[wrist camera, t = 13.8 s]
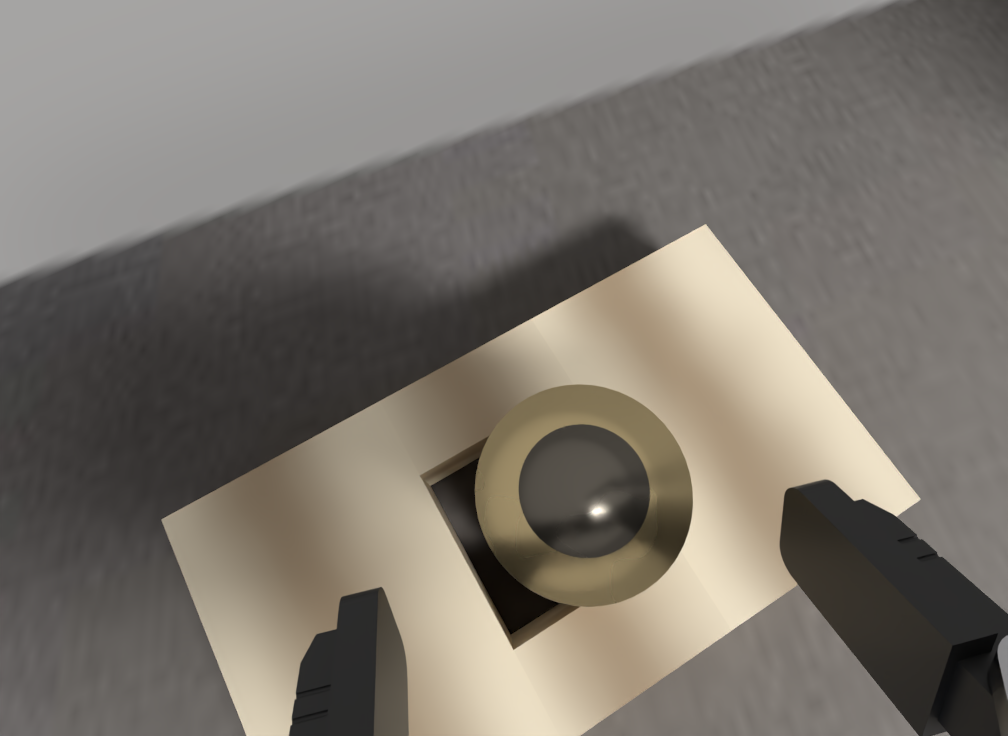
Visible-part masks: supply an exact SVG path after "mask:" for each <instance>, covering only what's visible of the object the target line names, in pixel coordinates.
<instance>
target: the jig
mask: <svg viewBox="0 0 1008 736" xmlns="http://www.w3.org/2000/svg"><path fill="white" fill-rule="evenodd" d="M575 384H583V385H595V386H600V387H605V388H609V389H612V390H615V391H618V392H620V393H623V394H625V395H627V396H629V397H631V398H633V399H635V400H636V401H638V402H639V403H641V404H643V405H644V406H645V407H647V408H648V409H649V410H650V411H652V412H653V413H654V414H655V415H656V416H657V417H658V418H659V419H660V420H661V421H662V422H663V423H664V424H665V425H666V427H667V428H668V429H669V431H670V432H671V433H672V435H673V436H674V438H675V439H676V441H677V443H678V444H679V446H680V448H681V450H682V453H683V455H684V457H685V459H686V462H687V466H688V469H689V472H690V477H691V482H692V488H693V510H692V519H691V524H690V528H689V532H688V535H687V538H686V540H685V543H684V546H683V548H682V550H681V551H680V553H679V555H678V557H677V559H676V560H675V562H674V563H673V564H672V566H671V567H670V568H669V570H668V571H667V572H666V573H665V574H664V575H663V576H662V577H661V578H660V579H659V580H658V581H657V582H656V583H654V584H653V585H652V586H650V587H649V588H648V589H647V590H645V591H643V592H641V593H640V594H638V595H636V596H634V597H632V598H630V599H627V600H624V601H622V602H619V603H615V604H610V605H606V606H595V607H582V606H572V605H567V604H562V603H560V604H558V605H556V606H555V607H553V608H552V609H550V610H549V611H547V612H546V613H544V614H543V615H541V616H539V617H538V618H536V619H535V620H533V621H532V622H530V623H529V624H527V625H525V626H524V627H522V628H521V629H519V630H518V631H516V632H515V633H513V634H510V633H509V631H508V629H507V627H506V625H505V623H504V621H503V620H502V618H501V616H500V614H499V612H498V610H497V608H496V607H495V605H494V603H493V601H492V599H491V597H490V595H489V594H488V592H487V590H486V588H485V586H484V584H483V582H482V581H481V579H480V577H479V575H478V573H477V571H476V569H475V568H474V566H473V564H472V562H471V560H470V558H469V556H468V555H467V553H466V551H465V549H464V547H463V545H462V543H461V542H460V540H459V538H458V536H457V534H456V532H455V530H454V529H453V527H452V525H451V523H450V521H449V519H448V517H447V516H446V514H445V512H444V510H443V508H442V506H441V504H440V503H439V501H438V499H437V497H436V495H435V493H434V491H433V490H432V488H431V485H433V484H435V483H436V482H438V481H440V480H441V479H443V478H445V477H447V476H448V475H450V474H452V473H454V472H455V471H457V470H459V469H460V468H462V467H464V466H466V465H467V464H469V463H471V462H473V461H474V460H476V459H478V458H479V457H480V456H481V453H482V450H483V448H484V446H485V444H486V442H487V440H488V438H489V436H490V434H491V433H492V431H493V430H494V428H495V427H496V425H497V424H498V423H499V422H500V420H501V419H502V418H503V417H504V416H505V415H506V414H507V413H508V412H509V411H510V410H511V409H513V408H514V407H515V406H516V405H517V404H519V403H520V402H522V401H524V400H525V399H527V398H528V397H530V396H532V395H534V394H536V393H539V392H541V391H544V390H547V389H550V388H553V387H559V386H564V385H575ZM824 479H827V480H830V481H832V482H834V483H835V484H836V485H837V486H839V487H840V488H841V489H842V490H843V491H844V492H845V493H846V494H847V495H848V496H849V497H851V498H852V499H853V500H854V501H856V500H860V499H864V500H866V501H868V502H870V503H872V504H874V505H876V506H878V507H880V508H882V509H884V510H886V511H888V512H890V513H892V514H894V515H895V516H897V515H899V514H900V513H902V512H903V511H905V510H906V509H908V508H909V507H910V506H912V505H913V504H915V503H916V502H918V501H919V500H921V499H920V498H919V497H918V495H917V494H916V493H915V492H914V490H913V489H912V488H911V486H910V485H909V484H908V483H907V481H906V480H905V479H904V478H903V476H902V475H901V474H900V472H899V471H898V470H897V469H896V467H895V466H894V465H893V463H892V462H891V461H890V460H889V458H888V457H887V456H886V454H885V453H884V452H883V451H882V449H881V448H880V447H879V446H878V444H877V443H876V442H875V440H874V439H873V438H872V437H871V435H870V434H869V433H868V431H867V430H866V429H865V428H864V426H863V425H862V424H861V422H860V421H859V420H858V419H857V417H856V416H855V415H854V414H853V412H852V411H851V410H850V408H849V407H848V406H847V405H846V403H845V402H844V401H843V399H842V398H841V397H840V396H839V394H838V393H837V392H836V390H835V389H834V388H833V387H832V385H831V384H830V383H829V382H828V380H827V379H826V378H825V376H824V375H823V374H822V373H821V371H820V370H819V369H818V367H817V366H816V365H815V364H814V362H813V361H812V360H811V359H810V357H809V356H808V355H807V353H806V352H805V351H804V350H803V348H802V347H801V346H800V344H799V343H798V342H797V341H796V339H795V338H794V337H793V335H792V334H791V333H790V332H789V330H788V329H787V328H786V327H785V325H784V324H783V323H782V321H781V320H780V319H779V318H778V316H777V315H776V314H775V312H774V311H773V310H772V309H771V307H770V306H769V305H768V303H767V302H766V301H765V300H764V298H763V297H762V296H761V295H760V293H759V292H758V291H757V289H756V288H755V287H754V286H753V284H752V283H751V282H750V280H749V279H748V278H747V277H746V275H745V274H744V273H743V271H742V270H741V269H740V268H739V266H738V265H737V264H736V263H735V261H734V260H733V259H732V257H731V256H730V255H729V254H728V252H727V251H726V250H725V248H724V247H723V246H722V245H721V243H720V242H719V241H718V239H717V238H716V237H715V236H714V234H713V233H712V232H711V231H710V229H709V228H708V227H707V225H706V224H705V225H703V226H702V227H700V228H698V229H696V230H694V231H692V232H691V233H689V234H687V235H685V236H683V237H681V238H679V239H678V240H676V241H674V242H672V243H670V244H668V245H667V246H665V247H663V248H661V249H659V250H657V251H656V252H654V253H652V254H650V255H648V256H646V257H644V258H643V259H641V260H639V261H637V262H635V263H633V264H632V265H630V266H628V267H626V268H624V269H622V270H620V271H619V272H617V273H615V274H613V275H611V276H609V277H608V278H606V279H604V280H602V281H600V282H598V283H597V284H595V285H593V286H591V287H589V288H587V289H585V290H584V291H582V292H580V293H578V294H576V295H574V296H573V297H571V298H569V299H567V300H565V301H563V302H561V303H560V304H558V305H556V306H554V307H552V308H550V309H549V310H547V311H545V312H543V313H541V314H539V315H537V316H536V317H534V318H532V319H530V320H528V321H526V322H525V323H523V324H521V325H519V326H517V327H515V328H514V329H512V330H510V331H508V332H506V333H504V334H502V335H501V336H499V337H497V338H495V339H493V340H491V341H490V342H488V343H486V344H484V345H482V346H480V347H478V348H477V349H475V350H473V351H471V352H469V353H467V354H466V355H464V356H462V357H460V358H458V359H456V360H454V361H453V362H451V363H449V364H447V365H445V366H443V367H442V368H440V369H438V370H436V371H434V372H432V373H431V374H429V375H427V376H425V377H423V378H421V379H419V380H418V381H416V382H414V383H412V384H410V385H408V386H407V387H405V388H403V389H401V390H399V391H397V392H395V393H394V394H392V395H390V396H388V397H386V398H384V399H383V400H381V401H379V402H377V403H375V404H373V405H371V406H370V407H368V408H366V409H364V410H362V411H360V412H359V413H357V414H355V415H353V416H351V417H349V418H348V419H346V420H344V421H342V422H340V423H338V424H336V425H335V426H333V427H331V428H329V429H327V430H325V431H324V432H322V433H320V434H318V435H316V436H314V437H312V438H311V439H309V440H307V441H305V442H303V443H301V444H300V445H298V446H296V447H294V448H292V449H290V450H288V451H287V452H285V453H283V454H281V455H279V456H277V457H276V458H274V459H272V460H270V461H268V462H266V463H265V464H263V465H261V466H259V467H257V468H255V469H253V470H252V471H250V472H248V473H246V474H244V475H242V476H241V477H239V478H237V479H235V480H233V481H231V482H229V483H228V484H226V485H224V486H222V487H220V488H218V489H217V490H215V491H213V492H211V493H209V494H207V495H205V496H204V497H202V498H200V499H198V500H196V501H194V502H193V503H191V504H189V505H187V506H185V507H183V508H182V509H180V510H178V511H176V512H174V513H172V514H170V515H169V516H167V517H165V518H163V519H161V520H162V523H163V525H164V528H165V530H166V533H167V535H168V538H169V541H170V543H171V546H172V548H173V551H174V553H175V556H176V558H177V561H178V563H179V566H180V568H181V571H182V573H183V576H184V578H185V581H186V584H187V586H188V589H189V591H190V594H191V596H192V599H193V601H194V604H195V606H196V609H197V611H198V614H199V616H200V619H201V621H202V624H203V627H204V629H205V632H206V634H207V637H208V639H209V642H210V644H211V647H212V649H213V652H214V654H215V657H216V659H217V662H218V665H219V667H220V670H221V672H222V675H223V677H224V680H225V682H226V685H227V687H228V690H229V692H230V695H231V697H232V700H233V702H234V705H235V708H236V710H237V713H238V715H239V718H240V720H241V723H242V725H243V728H244V730H245V733H246V735H247V736H289V731H290V726H291V725H292V713H293V706H294V700H295V699H296V688H297V681H298V675H299V669H300V663H301V661H302V659H303V657H304V656H305V654H306V652H307V650H308V648H309V646H310V645H311V643H312V641H313V639H314V637H315V635H316V634H319V633H323V632H327V631H331V630H335V629H337V619H338V610H339V602H340V599H341V597H342V596H346V595H350V594H354V593H358V592H362V591H366V590H370V589H374V588H378V587H382V588H383V589H384V591H385V594H386V596H387V599H388V602H389V605H390V607H391V610H392V613H393V616H394V618H395V621H396V624H397V627H398V629H399V632H400V635H401V638H402V641H403V645H404V650H405V655H406V663H407V677H408V721H409V736H580V735H582V734H583V733H584V732H586V731H587V730H589V729H590V728H592V727H593V726H595V725H596V724H597V723H599V722H600V721H602V720H603V719H605V718H606V717H608V716H609V715H610V714H612V713H613V712H615V711H616V710H618V709H619V708H621V707H622V706H623V705H625V704H626V703H628V702H629V701H631V700H632V699H633V698H635V697H636V696H638V695H639V694H641V693H642V692H644V691H645V690H646V689H648V688H649V687H651V686H652V685H654V684H655V683H657V682H658V681H659V680H661V679H662V678H664V677H665V676H667V675H668V674H670V673H671V672H672V671H674V670H675V669H677V668H678V667H680V666H681V665H683V664H684V663H685V662H687V661H688V660H690V659H691V658H693V657H694V656H696V655H697V654H698V653H700V652H701V651H703V650H704V649H706V648H707V647H709V646H710V645H711V644H713V643H714V642H716V641H717V640H719V639H720V638H721V637H723V636H724V635H726V634H727V633H729V632H730V631H732V630H733V629H734V628H736V627H737V626H739V625H740V624H742V623H743V622H745V621H746V620H747V619H749V618H750V617H752V616H753V615H755V614H756V613H758V612H759V611H760V610H762V609H763V608H765V607H766V606H768V605H769V604H771V603H772V602H773V601H775V600H776V599H778V598H779V597H781V596H782V595H784V594H785V593H786V592H788V591H789V590H791V589H792V588H794V587H795V586H797V585H798V584H797V582H796V581H795V580H794V579H793V577H792V576H791V575H790V573H789V572H788V570H787V568H786V566H785V564H784V562H783V559H782V556H781V552H780V545H779V544H780V532H781V522H782V512H783V502H784V494H785V492H786V490H787V489H788V488H791V487H795V486H799V485H803V484H807V483H811V482H815V481H819V480H824Z"/></svg>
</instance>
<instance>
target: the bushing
mask: <svg viewBox="0 0 1008 736" xmlns="http://www.w3.org/2000/svg"><path fill="white" fill-rule="evenodd" d="M475 503H476V509H477V515H478V520H479V523H480V526H481V529H482V532H483V535H484V537H485V539H486V541H487V543H488V545H489V547H490V549H491V550H492V552H493V553H494V555H495V557H496V558H497V560H498V561H499V562H500V563H501V564H502V566H503V567H504V568H505V569H506V570H507V572H508V573H510V574H511V575H512V576H513V577H514V578H515V579H516V580H517V581H518V582H520V583H521V584H522V585H524V586H525V587H527V588H528V589H530V590H531V591H533V592H535V593H537V594H539V595H541V596H542V597H544V598H547V599H550V600H553V601H555V602H558V603H562V604H567V605H572V606H582V607H595V606H606V605H610V604H615V603H619V602H622V601H624V600H627V599H630V598H632V597H634V596H636V595H638V594H640V593H641V592H643V591H645V590H647V589H648V588H649V587H650V586H652V585H653V584H654V583H656V582H657V581H658V580H659V579H660V578H661V577H662V576H663V575H664V574H665V573H666V572H667V571H668V570H669V568H670V567H671V566H672V564H673V563H674V562H675V560H676V559H677V557H678V555H679V553H680V551H681V550H682V548H683V546H684V543H685V540H686V538H687V535H688V532H689V528H690V524H691V519H692V510H693V488H692V482H691V477H690V472H689V469H688V466H687V462H686V459H685V457H684V455H683V453H682V450H681V448H680V446H679V444H678V443H677V441H676V439H675V438H674V436H673V435H672V433H671V432H670V431H669V429H668V428H667V427H666V425H665V424H664V423H663V422H662V421H661V420H660V419H659V418H658V417H657V416H656V415H655V414H654V413H653V412H652V411H650V410H649V409H648V408H647V407H645V406H644V405H643V404H641V403H639V402H638V401H636V400H635V399H633V398H631V397H629V396H627V395H625V394H623V393H620V392H618V391H615V390H612V389H609V388H605V387H600V386H595V385H583V384H575V385H564V386H559V387H553V388H550V389H547V390H544V391H541V392H539V393H536V394H534V395H532V396H530V397H528V398H527V399H525V400H524V401H522V402H520V403H519V404H517V405H516V406H515V407H514V408H513V409H511V410H510V411H509V412H508V413H507V414H506V415H505V416H504V417H503V418H502V419H501V420H500V422H499V423H498V424H497V425H496V427H495V428H494V430H493V431H492V433H491V434H490V436H489V438H488V440H487V442H486V444H485V446H484V448H483V450H482V453H481V456H480V459H479V462H478V467H477V472H476V480H475Z"/></svg>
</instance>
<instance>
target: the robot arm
mask: <svg viewBox="0 0 1008 736" xmlns="http://www.w3.org/2000/svg"><path fill="white" fill-rule="evenodd" d="M779 545H780V552H781V556H782V559H783V562H784V564H785V566H786V568H787V570H788V572H789V573H790V575H791V576H792V577H793V579H794V580H795V581H796V582H797V584H798V585H799V586H800V587H801V589H802V590H803V591H804V592H805V594H806V595H807V596H808V597H809V599H810V600H811V601H812V603H813V604H814V605H815V606H816V608H817V609H818V610H819V611H820V613H821V614H822V615H823V616H824V618H825V619H826V620H827V621H828V623H829V624H830V625H831V626H832V628H833V629H834V630H835V631H836V633H837V634H838V635H839V636H840V638H841V639H842V640H843V641H844V643H845V644H846V645H847V646H848V648H849V649H850V650H851V651H852V653H853V654H854V655H855V656H856V658H857V659H858V660H859V661H860V663H861V664H862V665H863V666H864V668H865V669H866V670H867V671H868V673H869V674H870V675H871V676H872V678H873V679H874V680H875V681H876V683H877V684H878V685H879V686H880V688H881V689H882V690H883V691H884V693H885V694H886V695H887V696H888V698H889V699H890V700H891V701H892V703H893V704H894V705H895V706H896V708H897V709H898V710H899V711H900V713H901V714H902V715H903V716H904V718H905V719H906V720H907V721H908V723H909V724H910V725H911V726H912V728H913V729H914V730H915V731H916V733H917V734H918V735H919V736H932V735H936V734H939V733H943V732H946V731H947V732H948V733H949V734H950V736H1008V614H1007V613H1006V612H1005V611H1004V610H1003V609H1001V608H1000V607H999V606H998V605H997V604H996V603H995V602H993V601H992V600H991V599H990V598H989V597H988V596H987V595H985V594H984V593H983V592H982V591H981V590H980V589H978V588H977V587H976V586H975V585H974V584H973V583H972V582H970V581H969V580H968V579H967V578H966V577H965V576H964V575H962V574H961V573H960V572H959V571H958V570H957V569H956V568H954V567H953V566H952V565H951V564H950V563H949V562H947V561H946V560H945V559H944V558H943V557H939V556H938V555H937V552H936V551H935V550H934V549H933V548H931V547H930V546H929V545H928V544H927V543H926V542H925V541H923V540H922V539H921V540H919V539H918V537H917V534H915V533H914V532H913V531H912V530H911V529H910V528H908V527H907V526H906V525H905V524H904V523H903V522H902V521H900V520H899V519H898V518H897V517H896V516H895V515H894V514H892V513H890V512H888V511H886V510H884V509H882V508H880V507H878V506H876V505H874V504H872V503H870V502H868V501H866V500H864V499H860V500H856V501H854V500H853V499H852V498H851V497H849V496H848V495H847V494H846V493H845V492H844V491H843V490H842V489H841V488H840V487H839V486H837V485H836V484H835V483H834V482H832V481H830V480H827V479H824V480H819V481H815V482H811V483H807V484H803V485H799V486H795V487H791V488H788V489H787V490H786V492H785V494H784V502H783V512H782V522H781V532H780V544H779ZM289 736H409V721H408V677H407V663H406V655H405V650H404V645H403V641H402V638H401V635H400V632H399V629H398V627H397V624H396V621H395V618H394V616H393V613H392V610H391V607H390V605H389V602H388V599H387V596H386V594H385V591H384V589H383V588H382V587H378V588H374V589H370V590H366V591H362V592H358V593H354V594H350V595H346V596H342V597H341V599H340V602H339V610H338V619H337V629H335V630H331V631H327V632H323V633H319V634H316V635H315V637H314V639H313V641H312V643H311V645H310V646H309V648H308V650H307V652H306V654H305V656H304V657H303V659H302V661H301V663H300V669H299V675H298V681H297V688H296V699H295V700H294V706H293V713H292V725H291V726H290V731H289Z"/></svg>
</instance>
